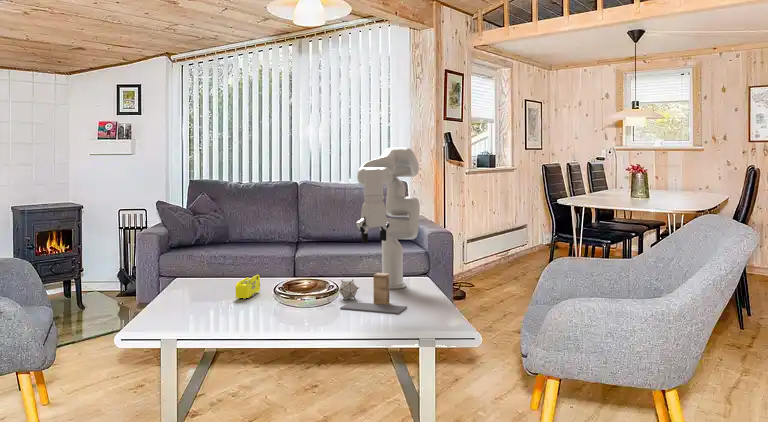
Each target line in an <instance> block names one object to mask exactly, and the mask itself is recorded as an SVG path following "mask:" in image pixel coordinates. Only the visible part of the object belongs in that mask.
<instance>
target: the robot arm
mask: <svg viewBox="0 0 768 422" xmlns="http://www.w3.org/2000/svg"><path fill="white" fill-rule="evenodd" d="M419 171H420V166H419V162H418V159H417V156H416V153H415V152H414V151H413V149H411V148H409V147H388V148H386V149H385V150H383V152H382V153H381V155H380V156H379V157H377V158H374V159H370V160H369V161H366V162H363V164H362V165H361V166H360V167H359V169H358V171H357V176H356V177H357V181H358V184H359V185H361V186H363V189H364V191H363V192H364V194H363V195H364V198H363V199H364V202H363V203H362V206H361V211H360V215H361V216H360V219H359V220H358V221H356V226H357V230H358V231H359V233H360V234H361V243H362V244H368V243H369V233H368V231H369V230H370V229H374V228H375V229H376V228H379V230H380V231H379V240H380V241H381V265H382V266H381V273H387V274H389V290H390V289H391V290H392V289H393V290H396V289H397V290H398V289H404V288H406V287H407V283H406V282H404V281H403V280H404V279H403V278H404V276H403V275H404V273H403V272H404V271H403V269H404V268H403V267H404V266H403V265H404V260H403V259H404V255H403V253H404V249H403V246H402V244H401V243H400V241H399V240H415V239H416V238H417V237H418V234H419V225H420V223H419V222H420V212H421V211H420V210H421V207H420V205H421V204H420V201H419V199H418V198H417V197H415V196H406V186H405V184H404V183H403V182H402V180H400V179H399V178H400V177H401V178H405V177H406V178H407V177H408V178H409V177H410V178H412V177H413V178H414V177H416V176H417V175H418V174H419ZM384 186H385V187H386V197H385V195H384ZM385 198H386V199H385ZM384 199H385V202H384ZM387 216H389V217H390V218H389V217H387Z"/></svg>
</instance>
